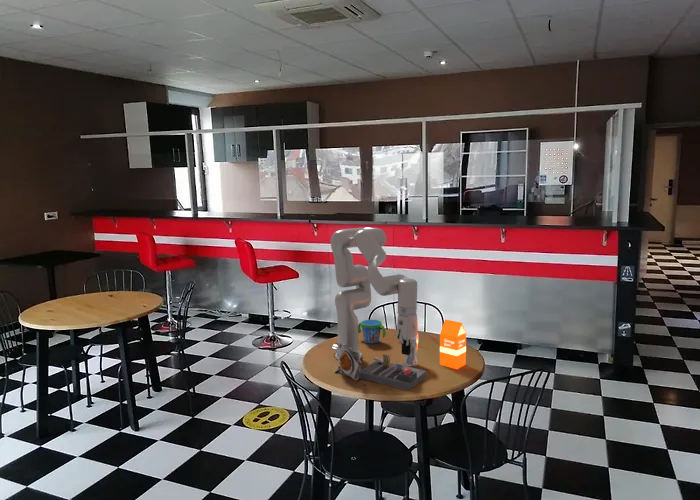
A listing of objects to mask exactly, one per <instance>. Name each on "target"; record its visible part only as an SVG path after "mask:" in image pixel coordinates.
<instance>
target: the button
mask: <svg viewBox="0 0 700 500" xmlns="http://www.w3.org/2000/svg"><path fill="white" fill-rule="evenodd" d="M411 368H412V367H411ZM411 368H404V369H403V374H405V375H409V376H410V375H411Z"/></svg>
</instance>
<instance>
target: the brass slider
mask: <svg viewBox="0 0 700 500" xmlns="http://www.w3.org/2000/svg"><path fill="white" fill-rule="evenodd" d="M382 357H383V358H382V359H383V367H386V368H389V367H390V363H391V354H390V353H386V352H385V353H383V354H382Z"/></svg>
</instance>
